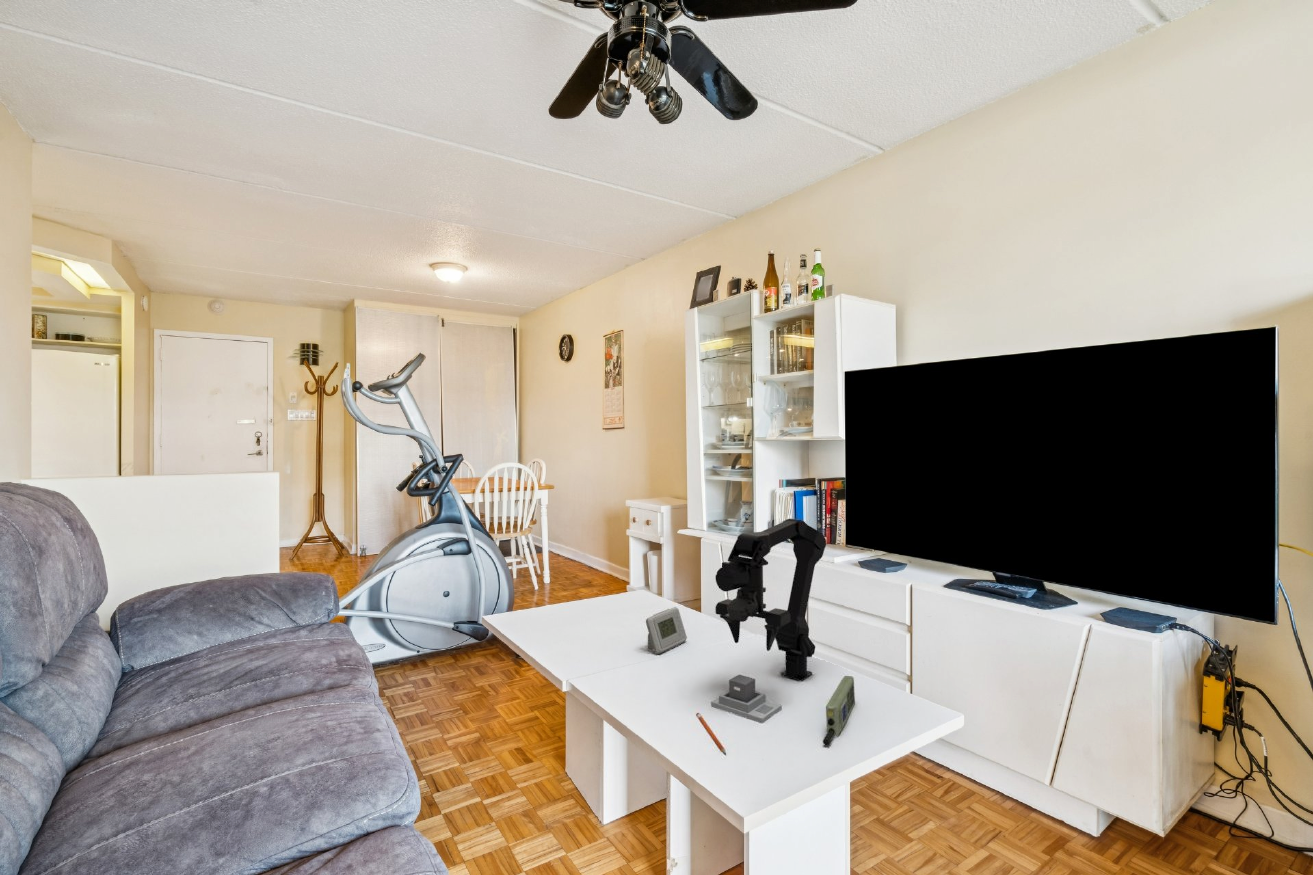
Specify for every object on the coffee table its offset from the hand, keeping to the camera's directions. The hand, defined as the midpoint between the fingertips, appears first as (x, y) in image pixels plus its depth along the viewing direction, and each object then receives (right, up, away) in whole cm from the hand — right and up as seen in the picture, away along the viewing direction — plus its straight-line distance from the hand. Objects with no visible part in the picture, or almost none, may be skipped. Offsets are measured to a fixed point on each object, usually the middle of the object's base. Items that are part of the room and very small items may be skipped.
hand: (752, 646), depth 153 cm
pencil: (-12, -12, -21) cm, 27 cm away
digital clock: (-21, -13, +35) cm, 43 cm away
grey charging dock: (-3, -12, -8) cm, 15 cm away
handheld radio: (+17, -12, -16) cm, 26 cm away
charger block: (-4, -11, -7) cm, 14 cm away
